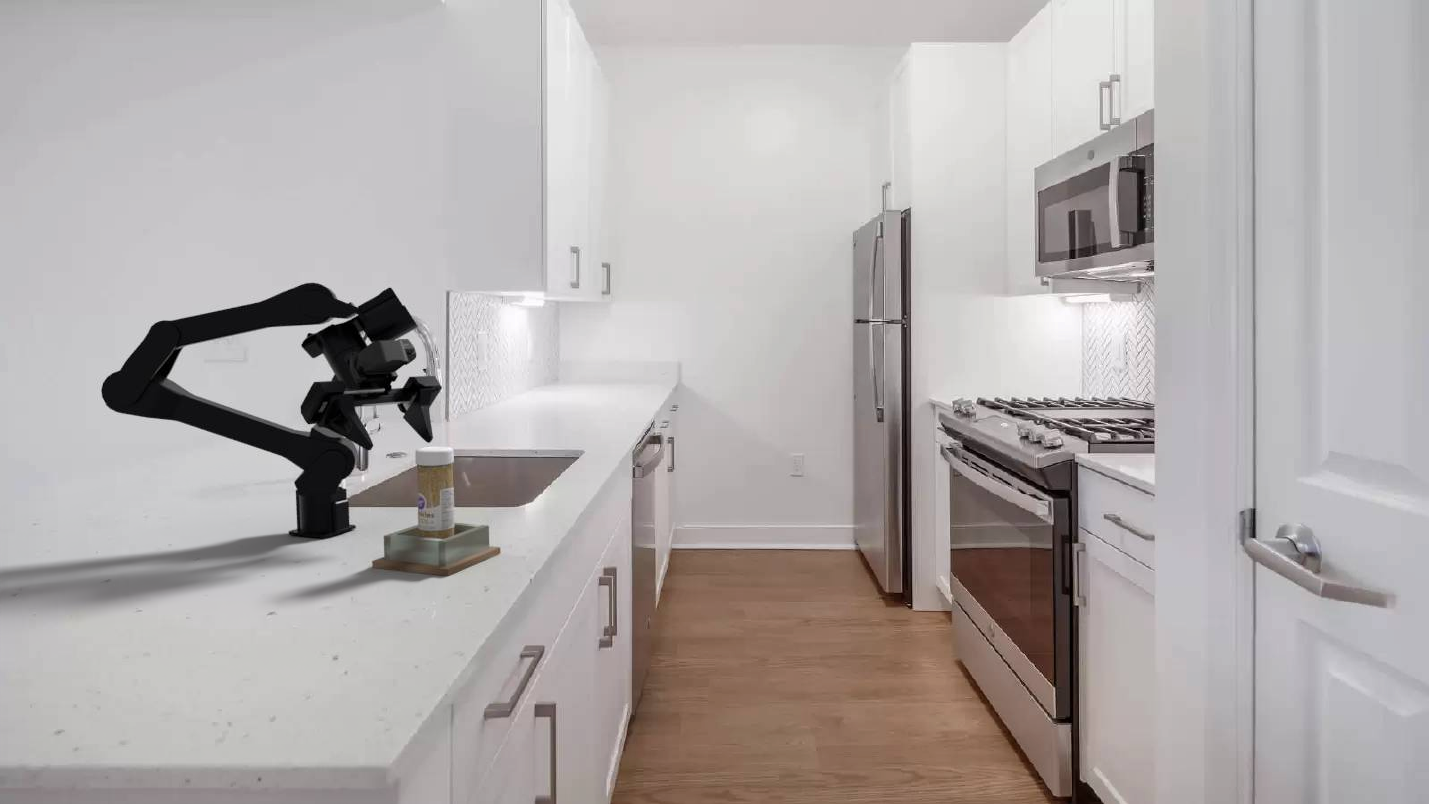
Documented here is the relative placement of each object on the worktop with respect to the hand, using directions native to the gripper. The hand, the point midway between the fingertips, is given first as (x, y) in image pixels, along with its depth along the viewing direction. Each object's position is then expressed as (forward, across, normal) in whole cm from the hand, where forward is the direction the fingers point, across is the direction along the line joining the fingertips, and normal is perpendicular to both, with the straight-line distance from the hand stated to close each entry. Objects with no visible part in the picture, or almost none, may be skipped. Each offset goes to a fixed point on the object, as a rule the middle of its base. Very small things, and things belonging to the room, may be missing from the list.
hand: (401, 444), depth 117 cm
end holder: (+17, -3, +2) cm, 18 cm away
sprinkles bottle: (+17, -3, +2) cm, 17 cm away
